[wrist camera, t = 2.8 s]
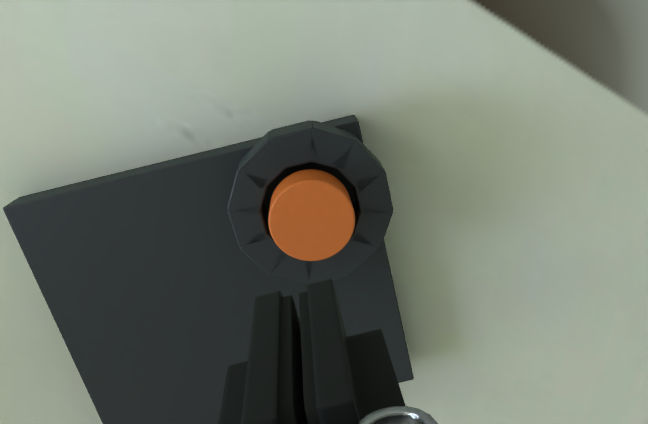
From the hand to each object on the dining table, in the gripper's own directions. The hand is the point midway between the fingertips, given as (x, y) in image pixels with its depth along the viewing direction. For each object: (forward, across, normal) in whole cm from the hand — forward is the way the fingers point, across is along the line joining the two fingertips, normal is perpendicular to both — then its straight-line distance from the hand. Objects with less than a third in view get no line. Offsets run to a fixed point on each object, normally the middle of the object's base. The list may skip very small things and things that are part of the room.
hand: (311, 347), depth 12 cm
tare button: (+9, 0, 0) cm, 9 cm away
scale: (+12, +4, +4) cm, 13 cm away
